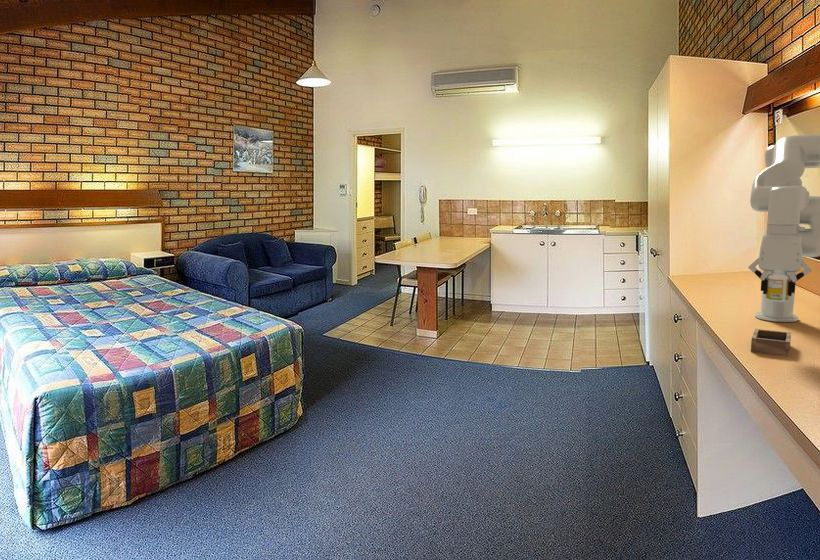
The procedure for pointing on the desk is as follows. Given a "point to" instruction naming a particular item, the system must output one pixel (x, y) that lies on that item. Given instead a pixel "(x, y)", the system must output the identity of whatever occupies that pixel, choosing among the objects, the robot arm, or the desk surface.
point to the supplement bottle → (777, 286)
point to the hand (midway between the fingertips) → (777, 293)
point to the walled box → (771, 342)
